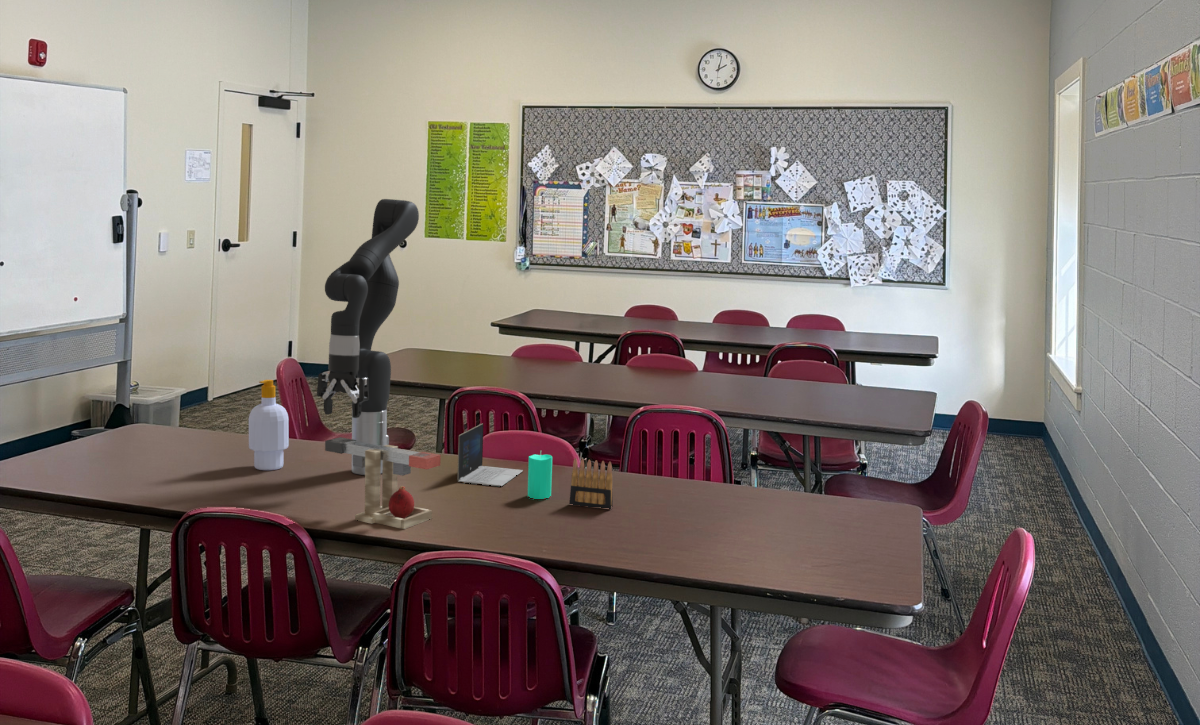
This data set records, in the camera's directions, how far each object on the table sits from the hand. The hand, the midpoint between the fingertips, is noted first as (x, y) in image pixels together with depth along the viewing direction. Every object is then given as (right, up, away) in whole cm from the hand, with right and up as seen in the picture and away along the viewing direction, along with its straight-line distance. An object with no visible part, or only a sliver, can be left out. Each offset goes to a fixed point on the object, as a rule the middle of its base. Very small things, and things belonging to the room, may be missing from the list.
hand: (342, 415), depth 257 cm
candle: (+51, -21, -1) cm, 55 cm away
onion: (+20, -23, -25) cm, 40 cm away
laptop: (+36, -18, +17) cm, 44 cm away
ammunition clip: (+64, -22, -8) cm, 68 cm away
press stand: (+19, -23, -25) cm, 38 cm away
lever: (+15, -11, -24) cm, 31 cm away
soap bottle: (-24, -15, +18) cm, 34 cm away
